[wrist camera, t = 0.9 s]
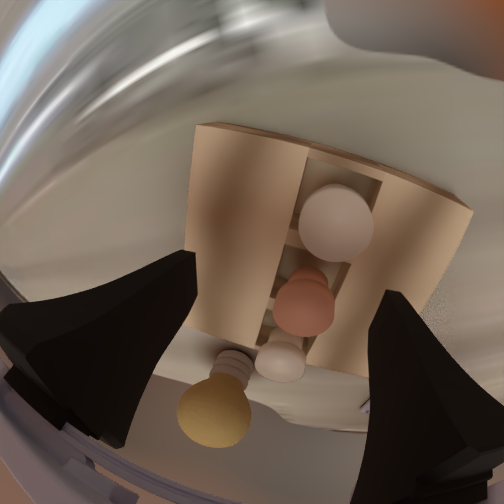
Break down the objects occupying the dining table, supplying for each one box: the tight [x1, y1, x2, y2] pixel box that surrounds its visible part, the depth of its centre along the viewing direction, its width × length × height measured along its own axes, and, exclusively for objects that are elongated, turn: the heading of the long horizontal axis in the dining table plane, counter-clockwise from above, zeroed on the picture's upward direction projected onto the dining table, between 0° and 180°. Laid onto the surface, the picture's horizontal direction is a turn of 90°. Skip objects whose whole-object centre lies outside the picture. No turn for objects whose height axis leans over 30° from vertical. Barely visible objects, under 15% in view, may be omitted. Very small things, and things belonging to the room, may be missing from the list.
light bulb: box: [177, 350, 253, 448], centre depth 22 cm, size 6×6×10 cm
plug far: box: [255, 327, 306, 383], centre depth 17 cm, size 3×3×3 cm
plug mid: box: [272, 266, 335, 337], centre depth 15 cm, size 3×3×3 cm
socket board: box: [183, 122, 474, 378], centre depth 17 cm, size 16×15×3 cm
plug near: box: [298, 184, 374, 262], centre depth 12 cm, size 3×3×3 cm
